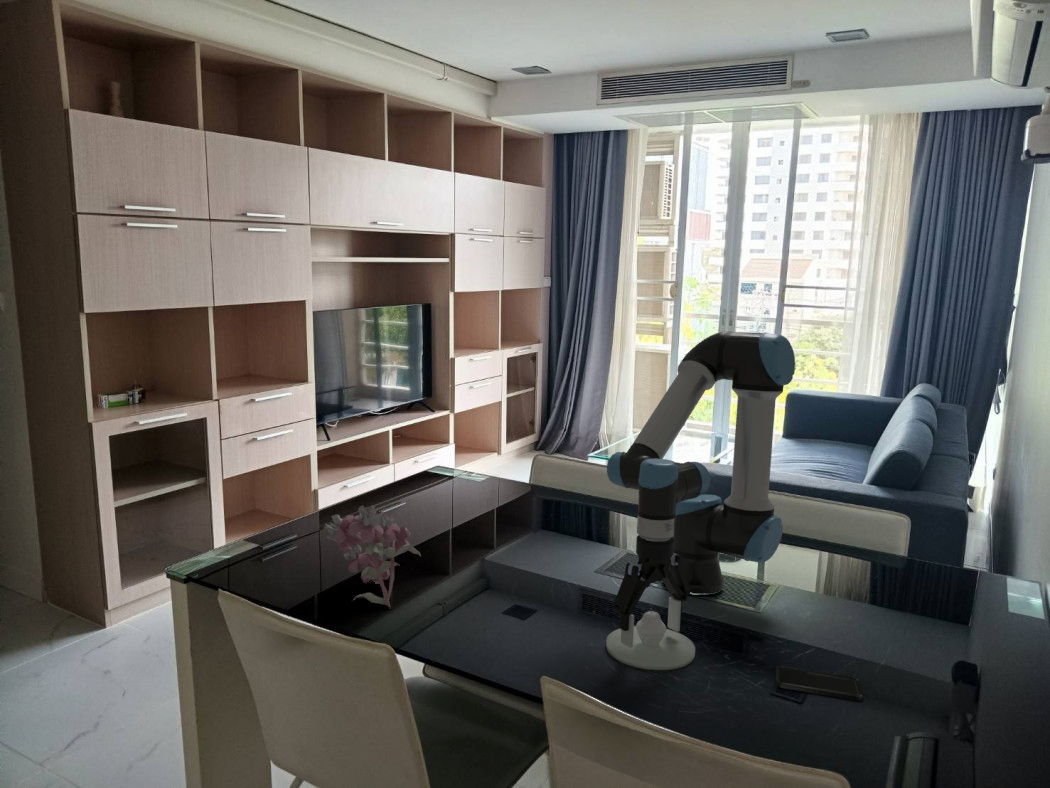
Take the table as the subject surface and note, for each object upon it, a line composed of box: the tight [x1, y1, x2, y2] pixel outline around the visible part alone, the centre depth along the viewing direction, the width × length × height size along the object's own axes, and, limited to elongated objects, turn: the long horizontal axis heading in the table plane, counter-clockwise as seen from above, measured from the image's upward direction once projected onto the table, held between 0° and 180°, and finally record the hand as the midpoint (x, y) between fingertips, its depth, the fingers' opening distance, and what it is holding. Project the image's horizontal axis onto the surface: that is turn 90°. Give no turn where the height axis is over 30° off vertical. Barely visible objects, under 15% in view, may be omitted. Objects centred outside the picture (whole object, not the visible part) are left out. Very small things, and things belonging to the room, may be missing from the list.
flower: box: [323, 504, 422, 609], centre depth 181 cm, size 20×22×25 cm
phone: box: [775, 665, 863, 702], centre depth 144 cm, size 8×1×15 cm
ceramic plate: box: [605, 625, 696, 671], centre depth 156 cm, size 18×18×1 cm
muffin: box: [635, 610, 667, 647], centre depth 156 cm, size 6×6×7 cm
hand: (650, 636), depth 156 cm, fingers open, 13 cm apart
